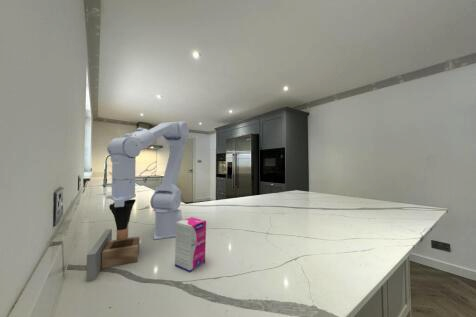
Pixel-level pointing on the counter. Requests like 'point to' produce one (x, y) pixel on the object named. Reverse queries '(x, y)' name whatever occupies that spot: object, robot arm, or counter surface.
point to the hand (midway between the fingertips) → (123, 227)
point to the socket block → (121, 252)
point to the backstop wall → (97, 255)
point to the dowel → (122, 234)
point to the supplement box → (190, 243)
